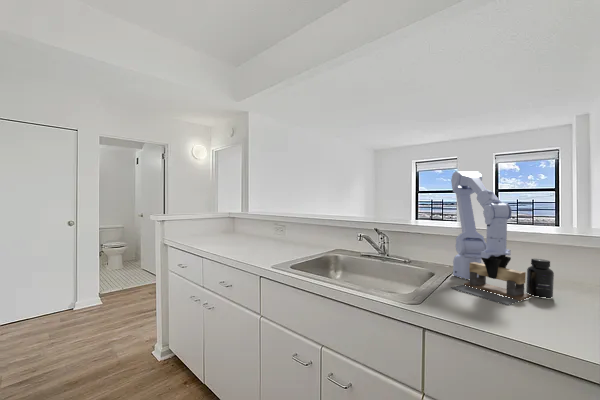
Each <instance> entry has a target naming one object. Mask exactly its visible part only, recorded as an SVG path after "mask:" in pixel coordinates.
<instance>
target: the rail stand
mask: <svg viewBox="0 0 600 400" xmlns="http://www.w3.org/2000/svg"><path fill="white" fill-rule="evenodd" d="M486 281H487V277H486V276H482V275H479V277H477V273H475V272H470V280H469V281H467V282H463V285H466V286H470V287H473V288H477V289H481V290H485V291H488V292H492V293H496V294H500V295H503V296H507V297H510V298H513V299H516V300H519V302H520V301H521V300H524V299H526V298H529V297H532V298H533V296H532V295H528V294H527V293H525V283H524V284H516V283H515V282H514V281H510V280H507V281H506V288H504V287H502V286H501V287H500V286H496V285H493V284H488V283H487V282H486ZM524 301H525V300H524ZM521 302H522V301H521Z"/></svg>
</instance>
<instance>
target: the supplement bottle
mask: <svg viewBox="0 0 600 400" xmlns="http://www.w3.org/2000/svg"><path fill="white" fill-rule="evenodd" d="M530 261H531V262H530V266H528V267H527V268H526V283H525V284H526V288H525V289H526V290H525V292H527V293H529V294H531V295H534V296H539V297H546V298H551V297H554V278H555V273H554V271H553V270H552V269H551V268H550V267H551V261H550V260H548V259H542V258H531V259H530ZM527 293H526V294H527Z"/></svg>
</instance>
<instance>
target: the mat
mask: <svg viewBox="0 0 600 400" xmlns="http://www.w3.org/2000/svg"><path fill="white" fill-rule="evenodd" d="M451 288H452V289H451ZM450 289H451V290H455V291H458V290H459V292H461V291H462V293H465V292H466V293H465V294H468V293H469V294H468V295H471V294H472V296H474V295H476V296H475V297H478V296H479V298H481V297H482V299H484V298H485V300H488V299H489V300H488V301H491V300H492V301H491V302H494V301H495V303H498V302H499V303H498V304H501V303H502V305H504V304H505V306H509V304H510V305H513V304H512V303H514V304H516V303H515V302H517V303H519V302H520V301H519V300H516V299H512V298H508V297H505V296H504V297H502V296H499V295H497V294H494V293H490V292H487V291H483V290H480V289H476V288H472V287H469V286H465V285H464V284H460V285H459V284H458V285H455V286H450ZM518 301H519V302H518Z"/></svg>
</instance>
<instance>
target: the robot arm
mask: <svg viewBox="0 0 600 400" xmlns="http://www.w3.org/2000/svg"><path fill="white" fill-rule="evenodd" d="M450 181H451V188H452V193H454V194H455V195H456V200H457V207H458V214H459V220H460V221H459V222H460V226H461V233H460V234H458V235H457V236H456V238H455V251H456V253H457V254H456V255H455V256H454V257H453V261H452V262H453V263H452V264H453V265H452V267H453V269H452V270H453V271H452V275H454V276H457V277H456V278H458V277H461V278H460V279H462V278H465V279H464V280H466V279H470V273H469V267H470V263H473V262H477V263H482V262H483V264H485V266H486V269H487V273H488V277H487V278H489V279H493V280H497V279H496V277H497V272H498V267H502V268H507V266H508V264H509V263H510V261H511V260H512V257H511V249H508V248H507V245H508V243H507V240H508V237H507V235H508V220H510V219H511V217H512V211H513V210H512V207H511V206H510V204H509V203H507V202H504V201H501V200H500V198H499V197H497V195H496V194H495V193H494V191H493V190H490V189H487V188H486V186H485V185H484V184H485V183H483V175H482V173H481V172H480V171H459V170H456V171H453V173H452V176H451V179H450ZM472 194H476V195H477V196H476V200H477V202H478V203H479V205H480V206H481V207H482V209H483V210H482V211H483V213H482V214H483V217H484V223H485V225H486V238H485V237H484V236H483V235H482V234H481V233H479V232H478V231H477V227H476V222H475V215H474V211H473V210H474V209H473V205H472V199H471V195H472ZM485 239H486V241H485ZM454 276H453V277H454ZM477 277H479V275H478V274H477Z"/></svg>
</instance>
